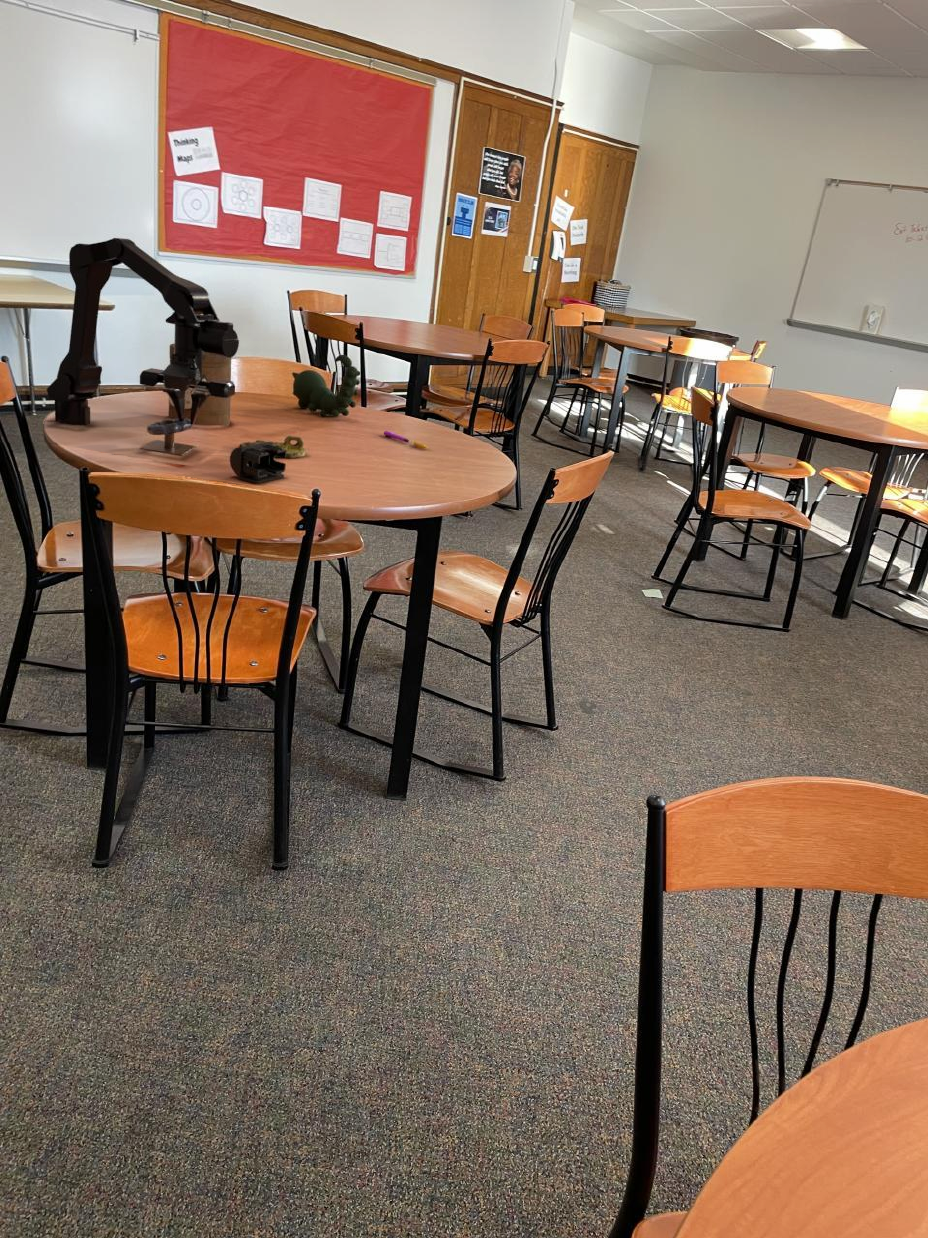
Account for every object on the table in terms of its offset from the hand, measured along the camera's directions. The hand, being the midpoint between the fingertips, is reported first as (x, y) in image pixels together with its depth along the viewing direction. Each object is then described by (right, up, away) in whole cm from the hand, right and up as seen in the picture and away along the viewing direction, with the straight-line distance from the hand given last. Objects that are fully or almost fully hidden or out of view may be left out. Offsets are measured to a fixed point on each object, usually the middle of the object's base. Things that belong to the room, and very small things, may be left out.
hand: (187, 423), depth 193 cm
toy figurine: (+18, +17, +65) cm, 70 cm away
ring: (-4, 0, +1) cm, 4 cm away
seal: (+15, -4, +15) cm, 22 cm away
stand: (-5, -6, +3) cm, 8 cm away
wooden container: (-7, +7, +33) cm, 35 cm away
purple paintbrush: (+44, +5, +46) cm, 64 cm away
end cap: (+16, -12, -5) cm, 21 cm away
